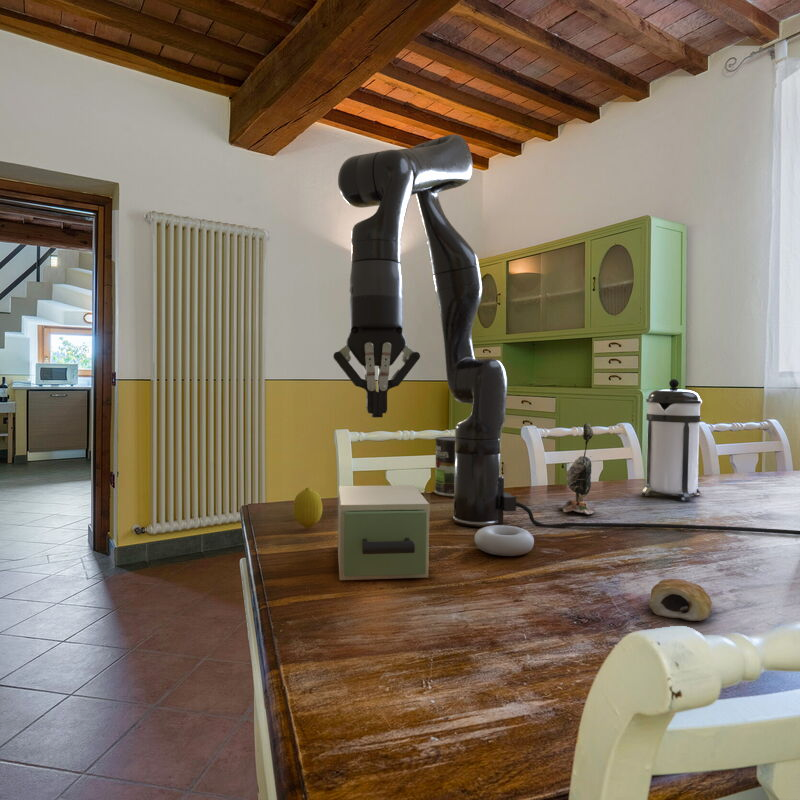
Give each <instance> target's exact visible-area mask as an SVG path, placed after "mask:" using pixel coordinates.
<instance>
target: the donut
mask: <svg viewBox="0 0 800 800" xmlns="http://www.w3.org/2000/svg"><path fill="white" fill-rule="evenodd" d="M473 540H474V543H475V546H476V547H477V548H478V549H479V550H480V551H482V552H484V553H487V554H489V555H494V556H500V557H517V556H523V555H526V554H528V553H529V552H530V551H532V549H533V547H534V545H535V538H534V536H533V535H532V534H531V532H530V531H529V530H526V529H525V528H522V527H518V526H514V525H506V524H505V525H504V524H498V525H494V526H487V527H480V528H479V529H478V530H477V532H475V535H474V539H473Z"/></svg>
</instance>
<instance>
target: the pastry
mask: <svg viewBox="0 0 800 800" xmlns="http://www.w3.org/2000/svg"><path fill="white" fill-rule="evenodd" d="M647 603H648V606H649V608H650V609H651V611H652V613H654V614H655V615H657V616H661V617H665V618H672V619H682V620H685V621H691V622H692V621H693V622H695V621H698V622H702V621H704V620H706V619H708V618H709V616H710V615H711V612H712V604H713V602H712V600H711V596H710V595H709V594H708V593H707V592H706V590H705V589H704V588H703V587H702V585H699V584H697V583H694V582H692V581H688V580H686V579H680V578H669V579H661V580H660V581H658V583H656V584H655V585H654V586H653V587H652V588H651V590H650V598H649V600H648V602H647Z"/></svg>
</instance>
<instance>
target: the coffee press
mask: <svg viewBox="0 0 800 800" xmlns="http://www.w3.org/2000/svg"><path fill="white" fill-rule="evenodd" d="M668 385H669V386H670V388H668V389H663V388H662V389H656V390H652V391H651V392H650V393H649V394H648V396H647V398H646V400H645V402H646V404H647V413H646V419H645V420H646V423H647V424H646V456H645V457H646V460H645V486H644V487H643V489H642V490H641V495H642V496H644V497H649V496H651V495H652V494H653V493H661V494H669V495H677V496H679V497H680V499H681V501H682V502H683V503H684V502H685V503H686V502H688V503H689V502H690V501H691V496H690V494H691V495H692V496H693V497H698V498H699V497H700V496H701V492H700V490H699V488H698V487H699V486H698V485H699V483H698V482H699V454H700V453H699V452H700V451H699V449H700V423H701V422H702V421H701V420H702V419H701V418H702V416H701V405H702V404H703V399H701V397H700V395H699V394H698V393H697V392H695V391H693V390H690V389H679V388H678V386H679V385H680V382H679V381H678V380H677V379H675V378H673V379H671V380H669V383H668ZM648 490H649V491H648ZM647 491H648V492H647ZM646 492H647V493H646ZM695 493H696V494H695Z"/></svg>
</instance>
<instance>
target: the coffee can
mask: <svg viewBox="0 0 800 800" xmlns="http://www.w3.org/2000/svg"><path fill="white" fill-rule="evenodd" d="M434 441H435V470H434V471H435V474H434V476H435V478H434V479H435V480H434V493H435V494H436V495H439V496H444V497H453V498H454V480H455V436H438V437H435V440H434Z"/></svg>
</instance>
